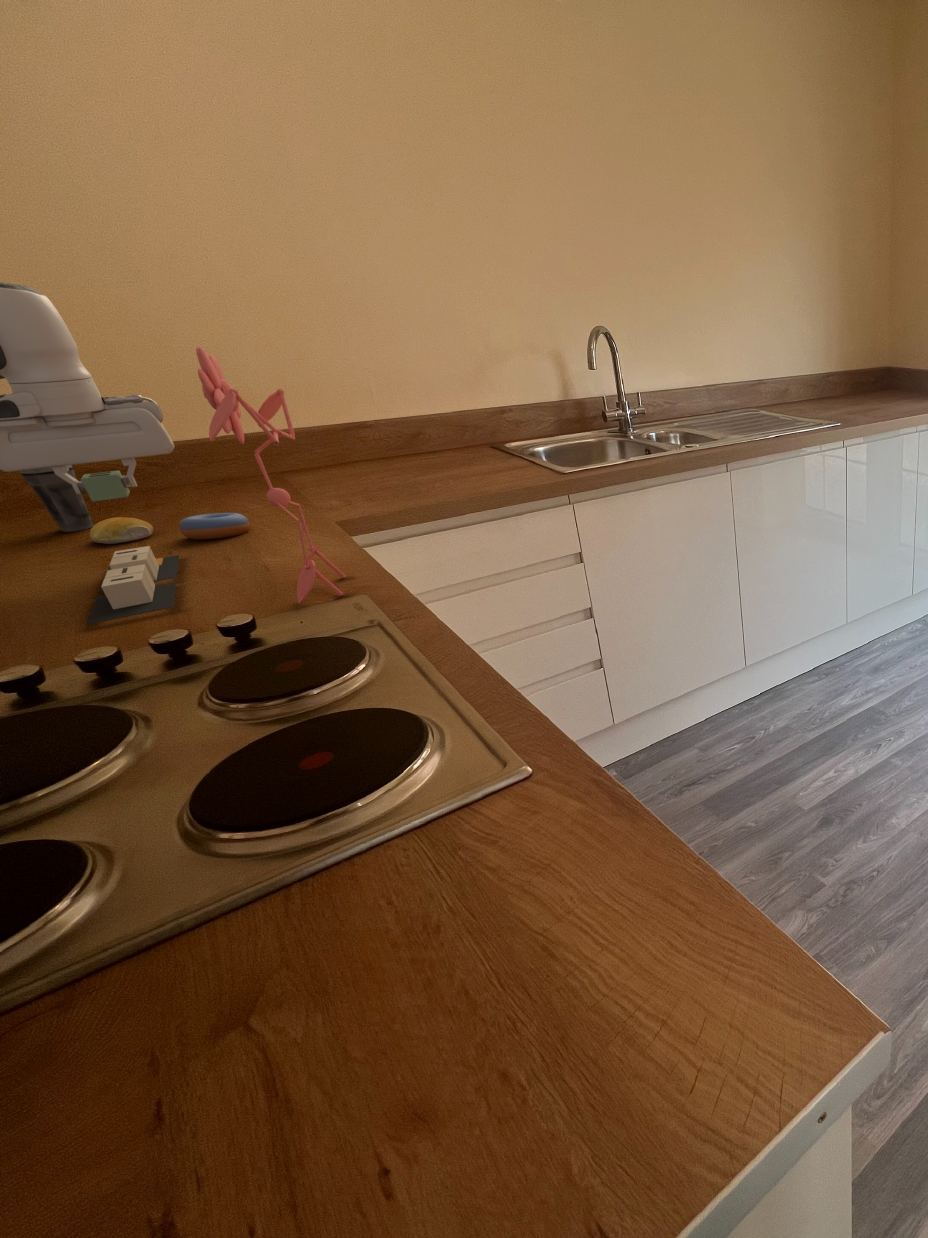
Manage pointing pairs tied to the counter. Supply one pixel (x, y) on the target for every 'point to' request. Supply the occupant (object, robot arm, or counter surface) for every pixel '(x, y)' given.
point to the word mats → (160, 601)
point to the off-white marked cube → (138, 551)
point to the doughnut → (214, 526)
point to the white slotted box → (127, 590)
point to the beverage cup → (59, 498)
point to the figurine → (258, 450)
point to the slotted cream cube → (135, 563)
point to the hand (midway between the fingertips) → (107, 490)
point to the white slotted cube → (131, 571)
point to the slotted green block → (104, 486)
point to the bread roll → (120, 530)
